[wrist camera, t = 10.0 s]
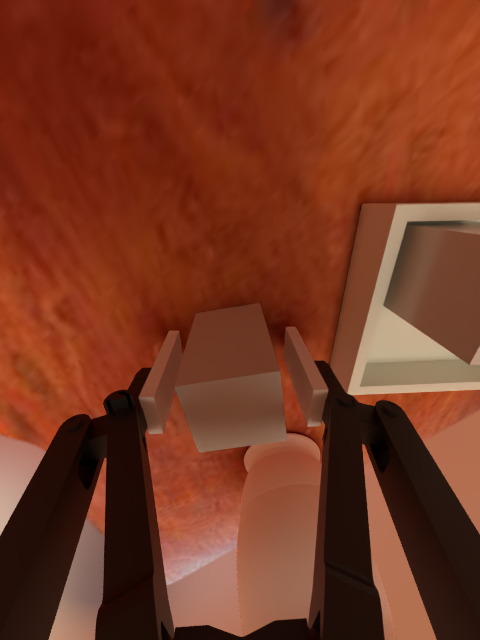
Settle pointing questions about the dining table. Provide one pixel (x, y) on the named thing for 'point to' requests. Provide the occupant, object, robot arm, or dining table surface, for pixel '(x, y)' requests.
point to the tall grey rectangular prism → (440, 284)
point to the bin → (382, 324)
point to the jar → (282, 534)
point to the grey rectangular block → (231, 380)
